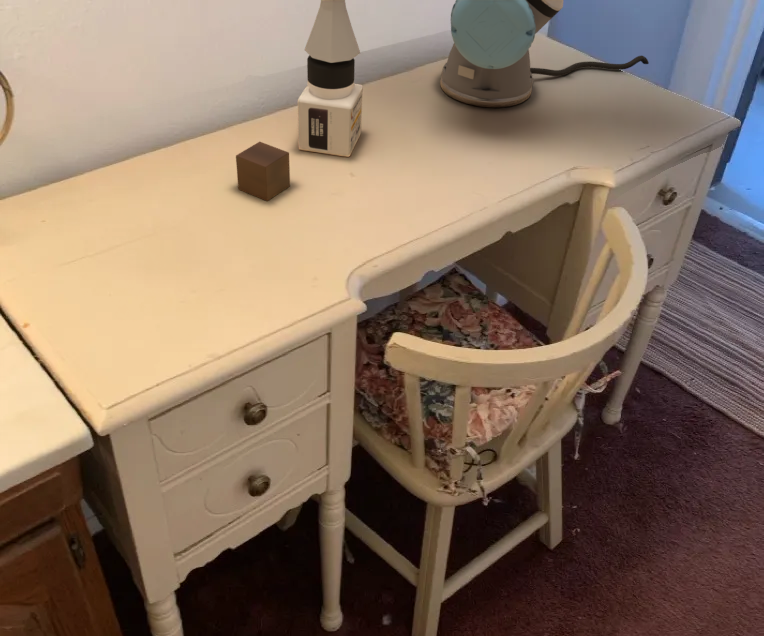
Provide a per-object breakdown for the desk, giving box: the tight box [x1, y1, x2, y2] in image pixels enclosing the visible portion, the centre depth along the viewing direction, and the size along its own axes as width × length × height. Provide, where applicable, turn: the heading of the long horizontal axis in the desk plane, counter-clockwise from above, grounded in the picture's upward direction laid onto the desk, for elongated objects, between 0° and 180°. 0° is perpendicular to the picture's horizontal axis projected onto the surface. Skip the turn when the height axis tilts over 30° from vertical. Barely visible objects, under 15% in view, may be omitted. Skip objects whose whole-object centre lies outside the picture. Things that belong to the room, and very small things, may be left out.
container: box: [297, 54, 364, 158], centre depth 119 cm, size 8×8×13 cm
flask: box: [304, 0, 361, 63], centre depth 111 cm, size 7×7×10 cm
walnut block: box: [235, 141, 291, 202], centre depth 111 cm, size 5×5×5 cm
